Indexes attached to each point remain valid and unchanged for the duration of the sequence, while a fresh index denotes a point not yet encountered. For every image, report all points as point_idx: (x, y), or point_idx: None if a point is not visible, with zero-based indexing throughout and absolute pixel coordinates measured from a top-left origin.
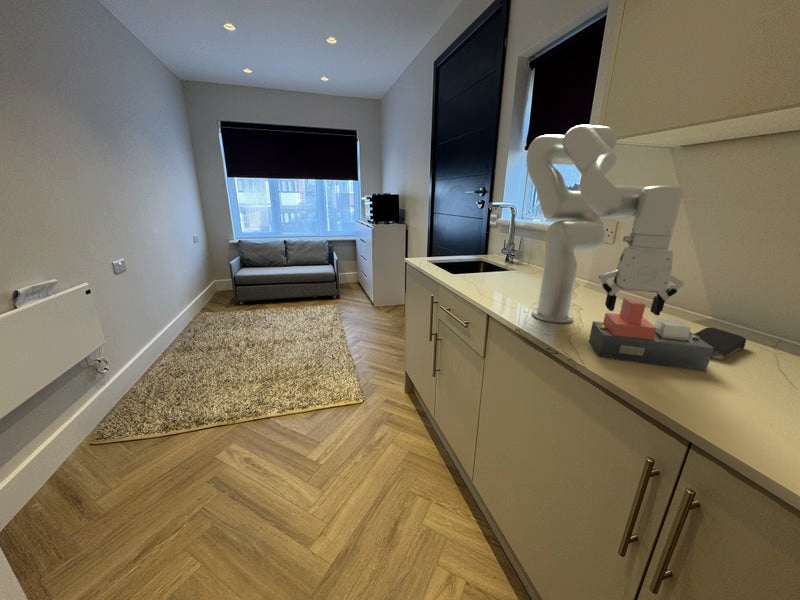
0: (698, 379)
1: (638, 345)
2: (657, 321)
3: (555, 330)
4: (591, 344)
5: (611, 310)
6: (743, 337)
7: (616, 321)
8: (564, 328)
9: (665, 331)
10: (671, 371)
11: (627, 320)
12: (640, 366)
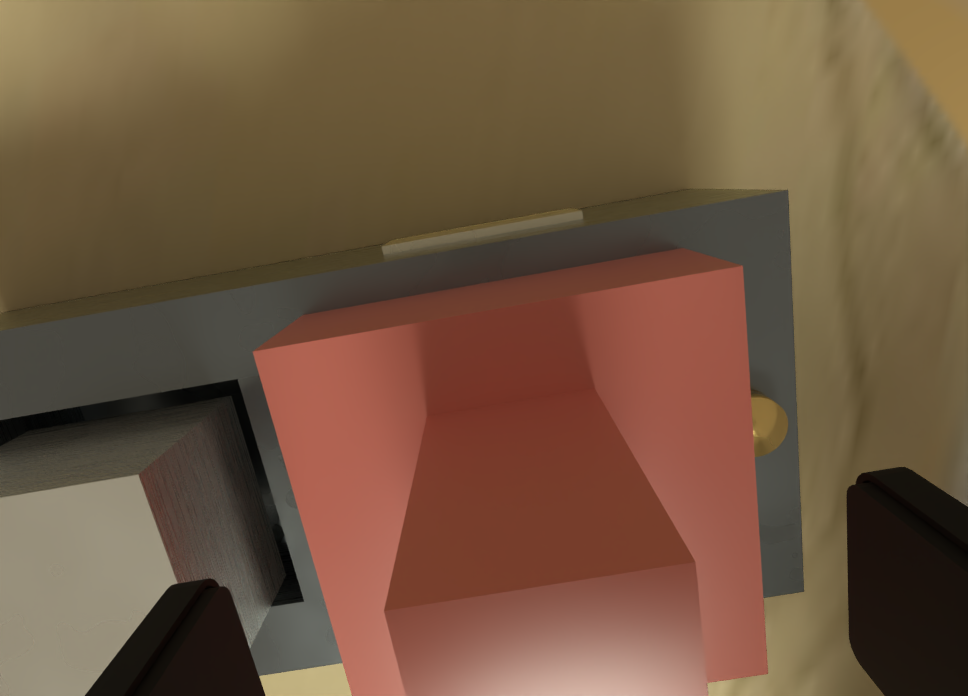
0: (61, 139)
1: (435, 245)
2: None
3: None
4: None
5: (884, 472)
6: None
7: (710, 385)
8: None
9: (166, 438)
10: (216, 192)
11: (595, 400)
12: (411, 171)
